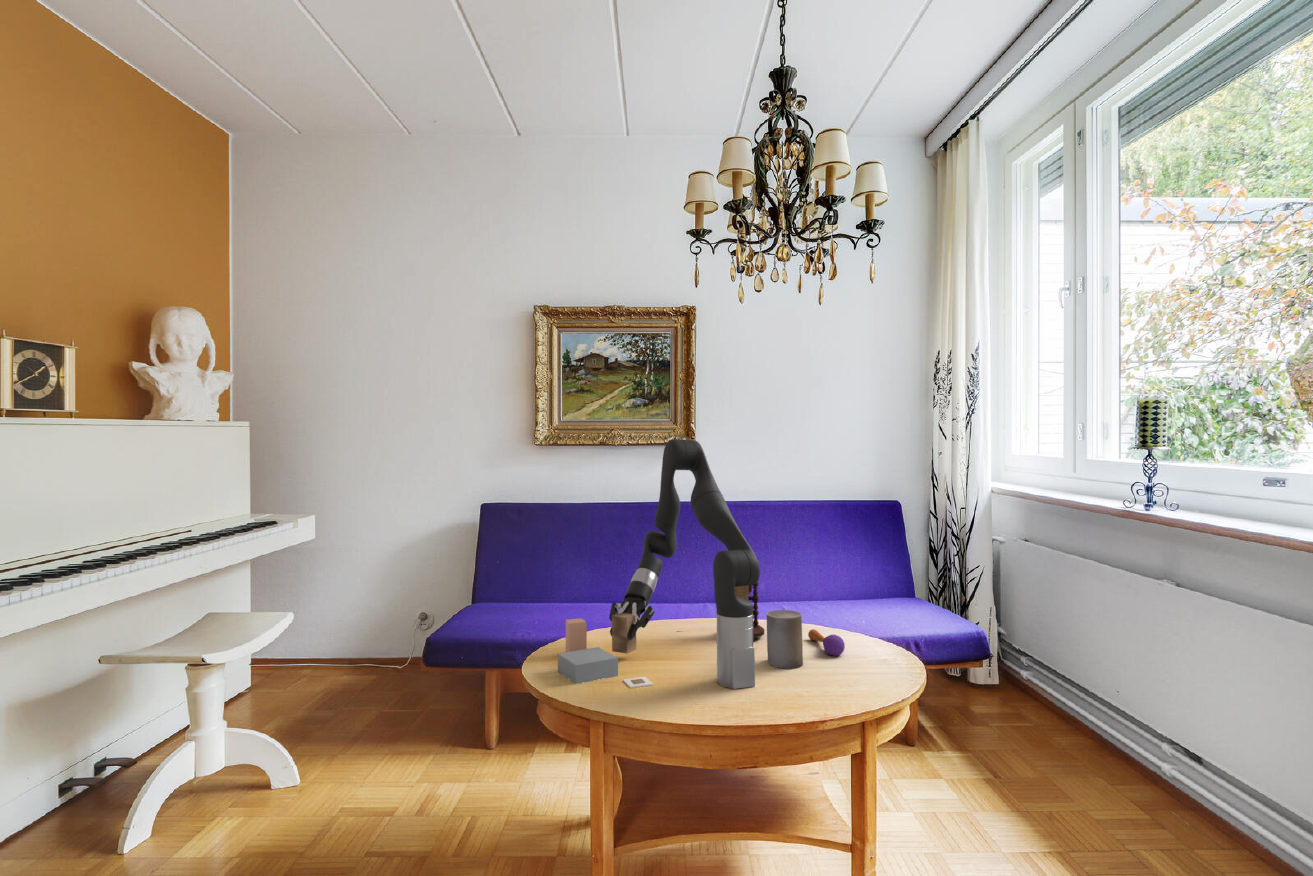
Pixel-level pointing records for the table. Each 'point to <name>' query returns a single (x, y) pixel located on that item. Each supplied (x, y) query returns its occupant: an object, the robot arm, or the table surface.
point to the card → (637, 682)
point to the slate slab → (587, 665)
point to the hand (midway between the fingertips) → (620, 636)
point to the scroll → (744, 593)
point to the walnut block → (622, 633)
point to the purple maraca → (829, 642)
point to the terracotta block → (576, 634)
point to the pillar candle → (784, 638)
